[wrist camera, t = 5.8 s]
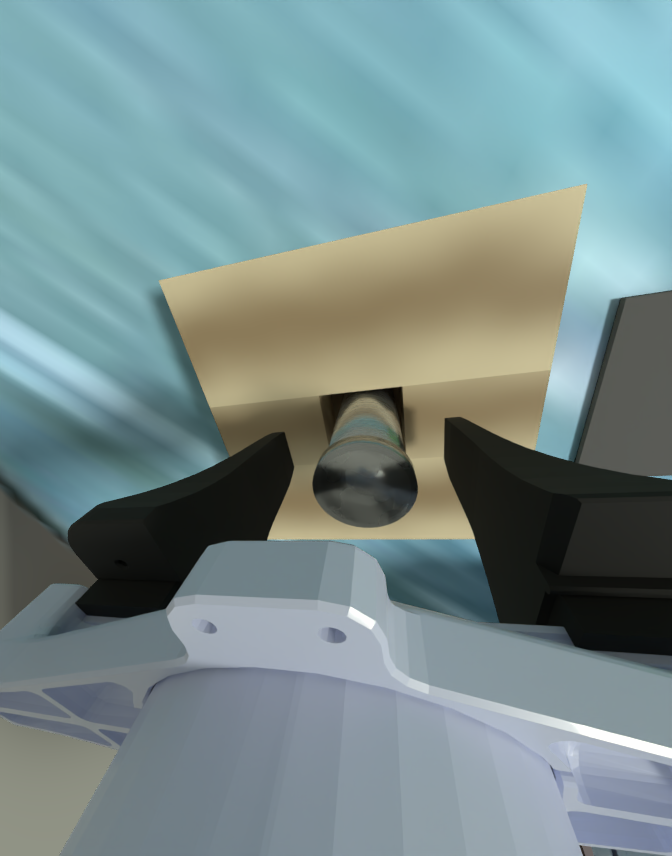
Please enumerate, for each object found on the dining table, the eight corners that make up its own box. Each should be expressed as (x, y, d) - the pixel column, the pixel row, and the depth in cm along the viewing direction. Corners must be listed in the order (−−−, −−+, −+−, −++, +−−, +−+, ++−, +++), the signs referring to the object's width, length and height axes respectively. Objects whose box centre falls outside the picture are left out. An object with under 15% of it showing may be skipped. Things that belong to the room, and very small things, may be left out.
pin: (400, 423, 16) (420, 526, 9) (345, 429, 17) (323, 529, 10) (395, 368, 15) (414, 439, 7) (335, 377, 15) (301, 450, 8)
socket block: (496, 502, 18) (517, 538, 15) (277, 508, 21) (262, 539, 18) (536, 209, 11) (587, 183, 8) (199, 282, 14) (158, 280, 11)
